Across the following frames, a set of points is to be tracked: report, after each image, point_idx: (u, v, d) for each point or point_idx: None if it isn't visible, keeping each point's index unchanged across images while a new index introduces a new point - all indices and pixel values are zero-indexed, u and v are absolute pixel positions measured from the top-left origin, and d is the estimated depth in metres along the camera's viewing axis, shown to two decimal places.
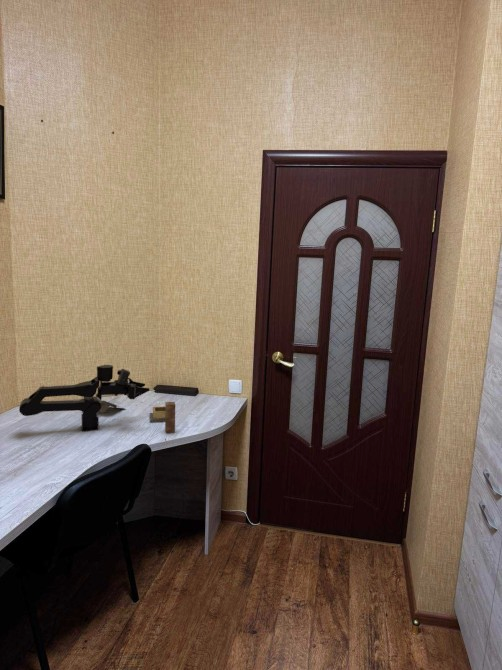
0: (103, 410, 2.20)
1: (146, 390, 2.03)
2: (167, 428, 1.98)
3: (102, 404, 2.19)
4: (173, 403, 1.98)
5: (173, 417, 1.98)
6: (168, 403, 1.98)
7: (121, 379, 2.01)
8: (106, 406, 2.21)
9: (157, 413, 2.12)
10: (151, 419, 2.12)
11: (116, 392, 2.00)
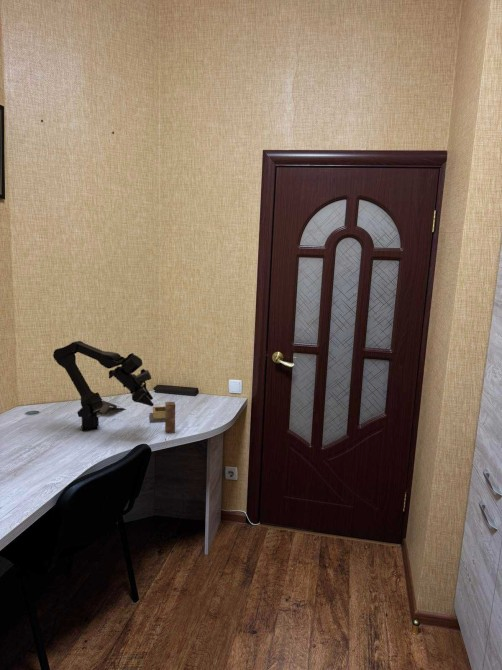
0: (103, 410, 2.20)
1: (150, 404, 1.91)
2: (167, 428, 1.98)
3: None
4: (173, 403, 1.98)
5: (173, 417, 1.98)
6: (168, 403, 1.98)
7: (139, 377, 1.91)
8: (106, 406, 2.21)
9: (157, 413, 2.12)
10: (151, 419, 2.12)
11: (126, 384, 1.90)
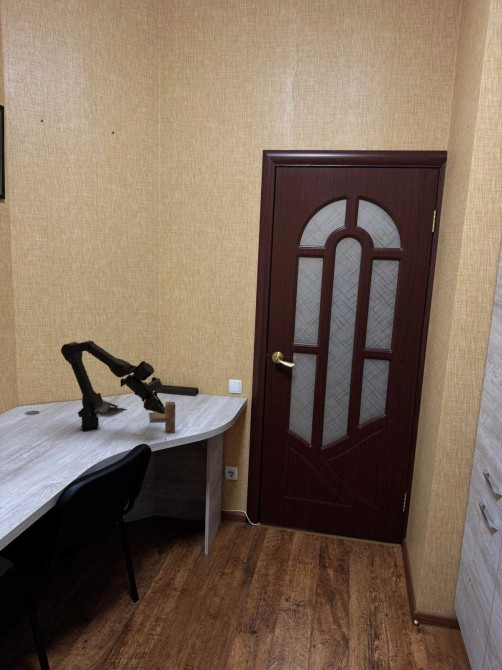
0: (104, 410, 2.20)
1: (161, 412, 1.93)
2: (167, 428, 1.98)
3: (103, 404, 2.19)
4: (173, 403, 1.98)
5: (173, 417, 1.98)
6: (168, 403, 1.98)
7: (151, 385, 1.93)
8: (107, 406, 2.21)
9: (157, 413, 2.12)
10: (151, 419, 2.12)
11: (138, 392, 1.92)
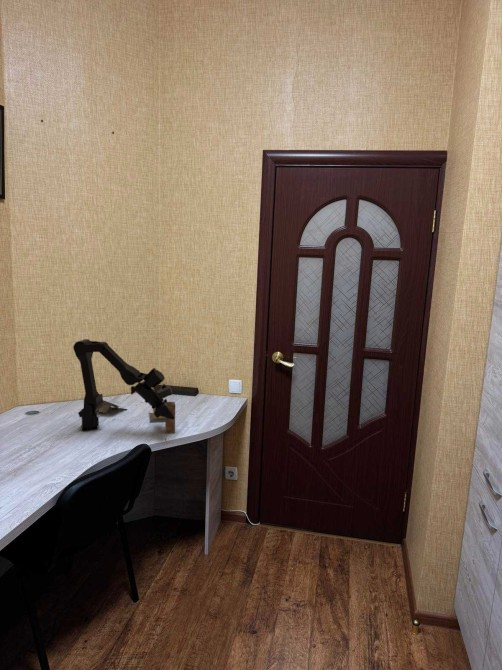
0: (104, 410, 2.20)
1: (171, 417, 1.97)
2: (167, 428, 1.98)
3: (103, 404, 2.19)
4: (173, 403, 1.98)
5: None
6: (168, 403, 1.98)
7: (161, 393, 1.94)
8: (107, 406, 2.21)
9: None
10: (151, 419, 2.12)
11: (148, 399, 1.93)
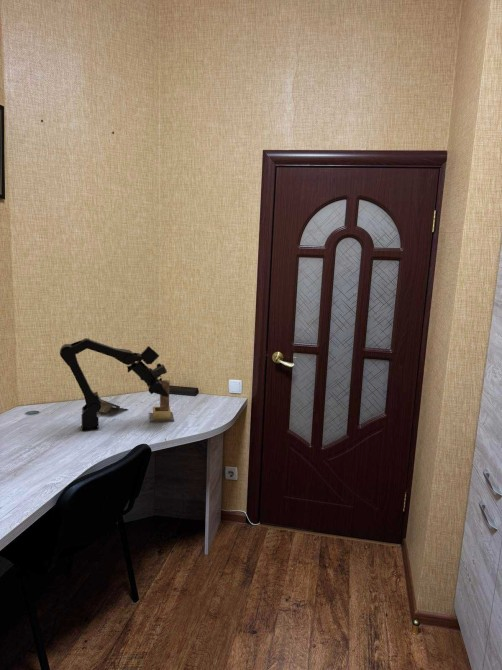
0: (105, 410, 2.20)
1: (165, 395, 2.06)
2: (161, 405, 2.07)
3: (104, 404, 2.19)
4: (167, 381, 2.08)
5: None
6: (163, 381, 2.07)
7: (156, 371, 2.04)
8: (108, 406, 2.21)
9: (157, 413, 2.12)
10: (151, 419, 2.12)
11: (143, 377, 2.03)
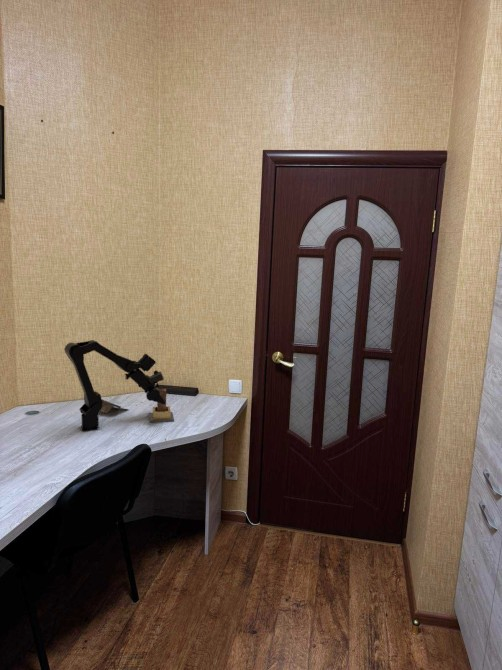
0: (106, 410, 2.20)
1: (162, 402, 2.11)
2: None
3: (105, 404, 2.19)
4: (164, 390, 2.14)
5: None
6: (160, 390, 2.14)
7: (153, 378, 2.10)
8: (109, 406, 2.21)
9: (157, 413, 2.12)
10: (151, 419, 2.12)
11: (141, 384, 2.09)
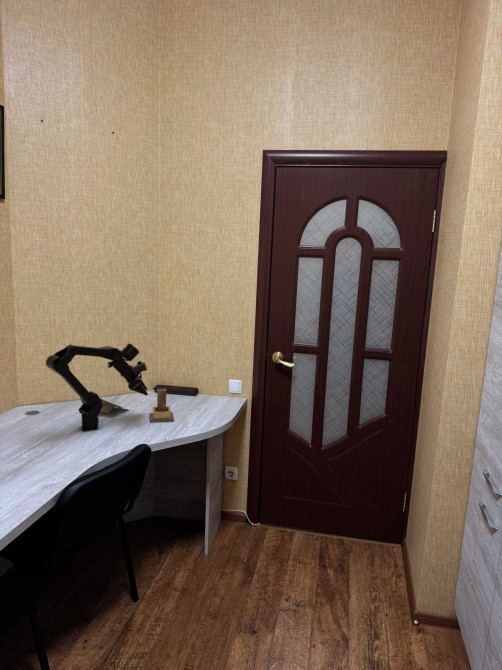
0: (106, 410, 2.20)
1: (144, 393, 2.07)
2: None
3: (105, 404, 2.19)
4: (164, 390, 2.14)
5: (164, 403, 2.14)
6: (160, 390, 2.14)
7: (136, 368, 2.07)
8: (110, 406, 2.21)
9: (157, 413, 2.12)
10: (151, 419, 2.12)
11: (123, 373, 2.06)
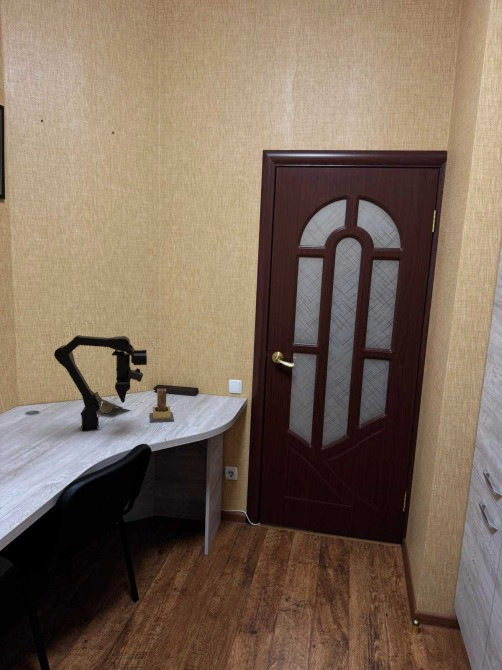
0: (107, 411, 2.19)
1: (122, 399, 1.96)
2: None
3: (106, 404, 2.19)
4: (164, 390, 2.14)
5: (164, 403, 2.14)
6: (160, 390, 2.14)
7: (133, 373, 1.98)
8: (110, 407, 2.21)
9: (157, 413, 2.12)
10: (151, 419, 2.12)
11: (119, 369, 1.96)
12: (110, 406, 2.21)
